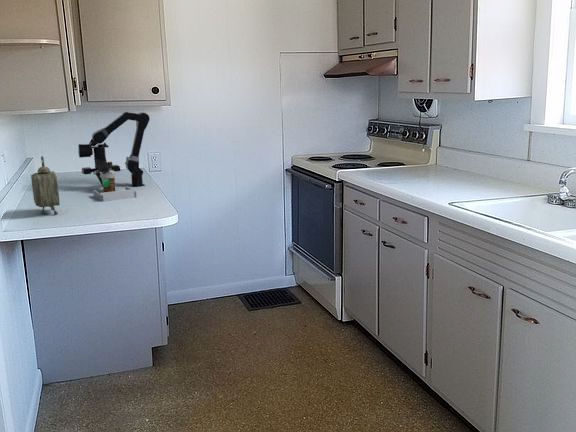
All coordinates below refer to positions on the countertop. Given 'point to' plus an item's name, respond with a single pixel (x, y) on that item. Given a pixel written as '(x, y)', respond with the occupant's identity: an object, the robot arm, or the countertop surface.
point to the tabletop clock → (45, 188)
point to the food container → (108, 181)
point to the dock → (115, 194)
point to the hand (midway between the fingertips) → (102, 185)
